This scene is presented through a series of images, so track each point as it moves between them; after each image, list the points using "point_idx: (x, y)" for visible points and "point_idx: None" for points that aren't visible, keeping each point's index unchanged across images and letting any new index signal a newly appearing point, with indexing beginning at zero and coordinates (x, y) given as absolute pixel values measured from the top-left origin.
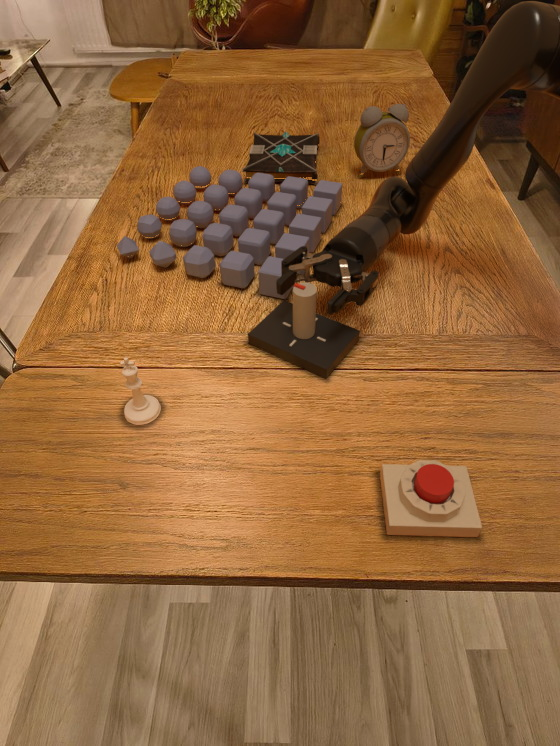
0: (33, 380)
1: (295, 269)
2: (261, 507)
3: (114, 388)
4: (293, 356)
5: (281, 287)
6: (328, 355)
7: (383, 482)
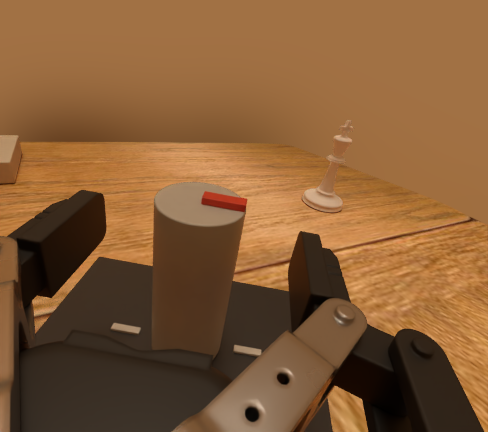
0: (443, 211)
1: (320, 306)
2: (152, 162)
3: (375, 215)
4: None
5: (296, 244)
6: (98, 287)
7: (13, 157)
